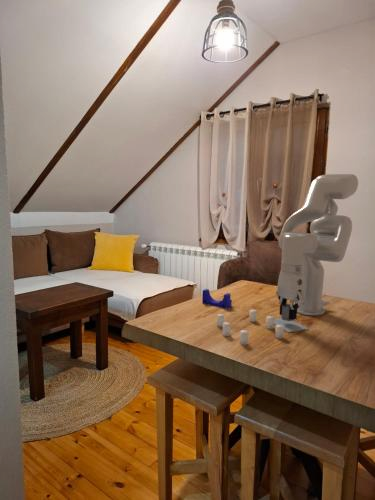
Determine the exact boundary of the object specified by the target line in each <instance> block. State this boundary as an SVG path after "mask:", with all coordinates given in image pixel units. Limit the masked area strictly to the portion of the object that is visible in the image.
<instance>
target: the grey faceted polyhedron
mask: <svg viewBox="0 0 375 500" xmlns="http://www.w3.org/2000/svg"><path fill="white" fill-rule="evenodd" d="M289 309H291V307H290V303H286V304H282V312H281V315H280V318H282V320H286V321H295V319H293V320H289Z"/></svg>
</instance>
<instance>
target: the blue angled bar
mask: <svg viewBox="0 0 375 500" xmlns="http://www.w3.org/2000/svg"><path fill="white" fill-rule="evenodd" d="M201 298H202V300H201V301H202V304H204V303H205V304H204V305H208V304H209V306H213V305H214V307H217V306H218V307H217V308H221V307H222V308H223V309H226V310H227V309H229V308H231V307H232V299H231V293H228V292H227V293H225V294H223V298H222V300H216V299H214V298H213V297H212V296H211V293H210V289H208V288H205V289H203V290H202V297H201Z"/></svg>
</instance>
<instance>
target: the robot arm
mask: <svg viewBox="0 0 375 500" xmlns="http://www.w3.org/2000/svg"><path fill="white" fill-rule="evenodd" d="M358 186H359V180H358V177H357V176H356V175H355V174H353V173H349V174H347V173H339V174H338V173H337V174H336V173H335V174H334V173H332V174H330V173H329V174H321V175H318V176H317V177H316V178H314V179H313V180H312V181H311V183H310V184H309V187H308V190H307V193H306V195H305V198H304V201H303V204H302V207H301V208H300V209H299V210H297V211H295V212H293V213H292V214H291V216H289V217H288V218H287V219H286V220H285V221H284V224H283V225H282V229H281V231H280V234H279V236H278V237H279V238H278V246H279V248H280V249H281V263H280V272H279V275H278V278H277V279H278V280H277V291H276V292H275V294H276V296H277V298H278V304H279V315H280V316H281V312H282V304H288V301H289V304H290V307H291V309H289V320H293V319H294V320H297V316H298V314H301V315H304V316H305V315H306V316H316V317H317V316H322V315H324V314H325V311H326V310H325V309H324V307H325V306H330V304H331V303H330V300H323V299H322V298H323V289H324V277H325V269H324V266H323V265H322V263H321V261H322V262H331V263H339V262H341V261H343V260H344V257H345V255H346V252H347V249H348V244H349V241H350V238H351V235H352V230H353V223H352V222H353V221H352V219H351V218H350V217H349V216H347V215H339V214H338V209H339V206H338V204H337V203H336V201H335V200H345V199H348V198H350V197H352V196H353V195H355V193H356V191H357V189H358ZM309 222H311V223H310V227H309V231H310V233H309V232H299V231H295V230H296V229H297V228H298V227H300V226H302V225H304V224H307V223H309ZM294 320H293V321H294Z"/></svg>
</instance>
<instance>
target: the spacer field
mask: <svg viewBox="0 0 375 500" xmlns="http://www.w3.org/2000/svg"><path fill="white" fill-rule="evenodd" d="M257 312H258V311H257V310H255V309H250V310H249V316H248V317H249V318H248V321H249V322H250V323H256V322H257V314H258V313H257ZM274 319H275V317H274V316H271V315H268V316H266V319H265V320H266V321H265V323H266V324H265V328H266V330H267V329H268V330H273V329H274V326H275V331H274V332H275V334H274V337H275V338H276V339H278V340H282V339H283V338H284V326H283V325H274ZM216 326H217V327H218V328H219V327H220V328H222V336H224V337H230V336H231V322H228V321H225V314H223V313H218V314H217V315H216ZM239 332H240V333H239V344H240V345H241V346H247V345H248V343H249V331H248V330H246V329H241V330H240V331H239Z"/></svg>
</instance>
